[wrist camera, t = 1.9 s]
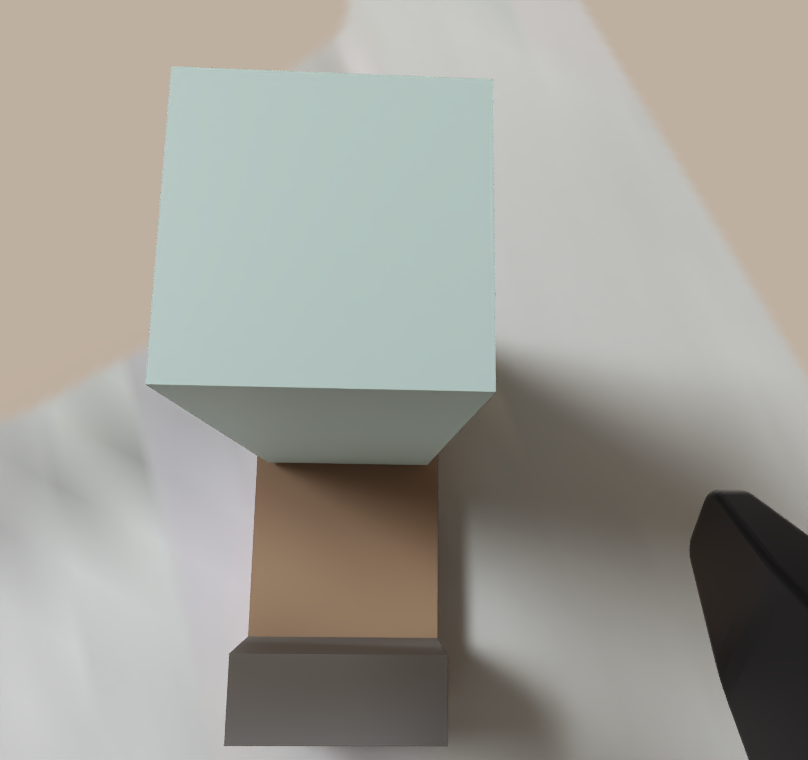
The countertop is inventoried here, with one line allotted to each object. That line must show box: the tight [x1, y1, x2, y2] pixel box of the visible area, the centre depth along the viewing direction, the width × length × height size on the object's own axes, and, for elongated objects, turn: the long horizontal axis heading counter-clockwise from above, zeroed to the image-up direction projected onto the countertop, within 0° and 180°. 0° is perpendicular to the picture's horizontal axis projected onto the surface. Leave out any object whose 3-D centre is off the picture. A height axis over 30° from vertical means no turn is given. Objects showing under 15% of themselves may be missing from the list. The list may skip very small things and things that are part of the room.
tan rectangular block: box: [224, 454, 448, 746], centre depth 18 cm, size 10×5×4 cm, turn 179°
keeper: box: [145, 67, 496, 465], centre depth 14 cm, size 4×4×10 cm
